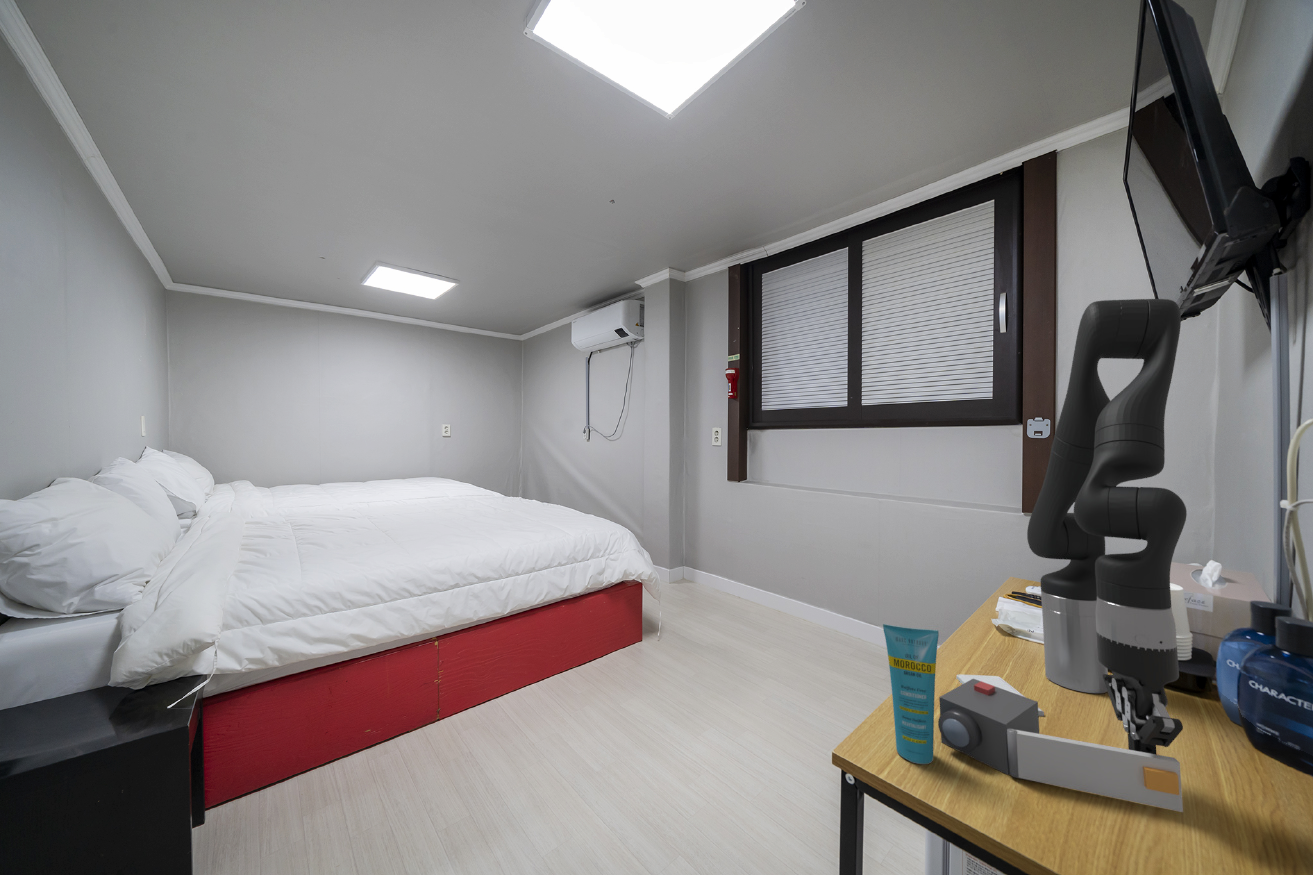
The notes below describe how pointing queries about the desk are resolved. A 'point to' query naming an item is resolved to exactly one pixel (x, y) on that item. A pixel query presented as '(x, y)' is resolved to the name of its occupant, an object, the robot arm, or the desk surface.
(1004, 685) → the external hard drive
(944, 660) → the desk surface
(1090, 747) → the door
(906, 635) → the tube
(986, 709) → the camera body
